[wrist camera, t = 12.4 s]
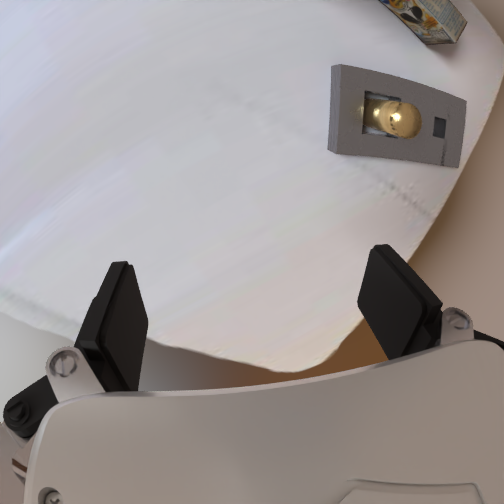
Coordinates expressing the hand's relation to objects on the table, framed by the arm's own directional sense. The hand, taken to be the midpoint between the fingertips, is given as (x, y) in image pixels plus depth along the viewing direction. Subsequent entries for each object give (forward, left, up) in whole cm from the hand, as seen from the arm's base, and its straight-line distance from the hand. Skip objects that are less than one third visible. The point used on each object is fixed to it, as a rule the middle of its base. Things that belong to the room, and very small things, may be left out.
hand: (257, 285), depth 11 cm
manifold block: (-6, +26, -28) cm, 39 cm away
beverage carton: (-21, +30, -30) cm, 47 cm away
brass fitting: (-6, +21, -28) cm, 35 cm away
